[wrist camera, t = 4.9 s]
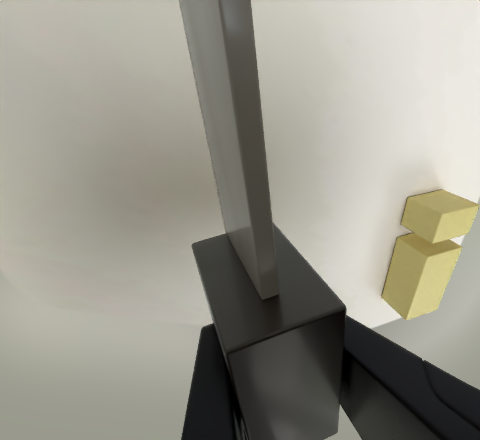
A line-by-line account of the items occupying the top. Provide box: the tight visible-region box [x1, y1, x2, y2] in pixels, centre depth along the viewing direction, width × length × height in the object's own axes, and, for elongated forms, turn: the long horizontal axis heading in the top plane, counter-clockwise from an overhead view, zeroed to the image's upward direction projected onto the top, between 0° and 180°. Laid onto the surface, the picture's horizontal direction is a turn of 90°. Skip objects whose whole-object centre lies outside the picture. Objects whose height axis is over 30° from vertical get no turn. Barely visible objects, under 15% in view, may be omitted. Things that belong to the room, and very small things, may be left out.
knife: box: [179, 0, 347, 440], centre depth 6 cm, size 2×11×4 cm, turn 8°
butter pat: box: [401, 190, 479, 244], centre depth 22 cm, size 2×4×3 cm
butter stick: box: [382, 233, 462, 320], centre depth 25 cm, size 7×4×3 cm, turn 4°
